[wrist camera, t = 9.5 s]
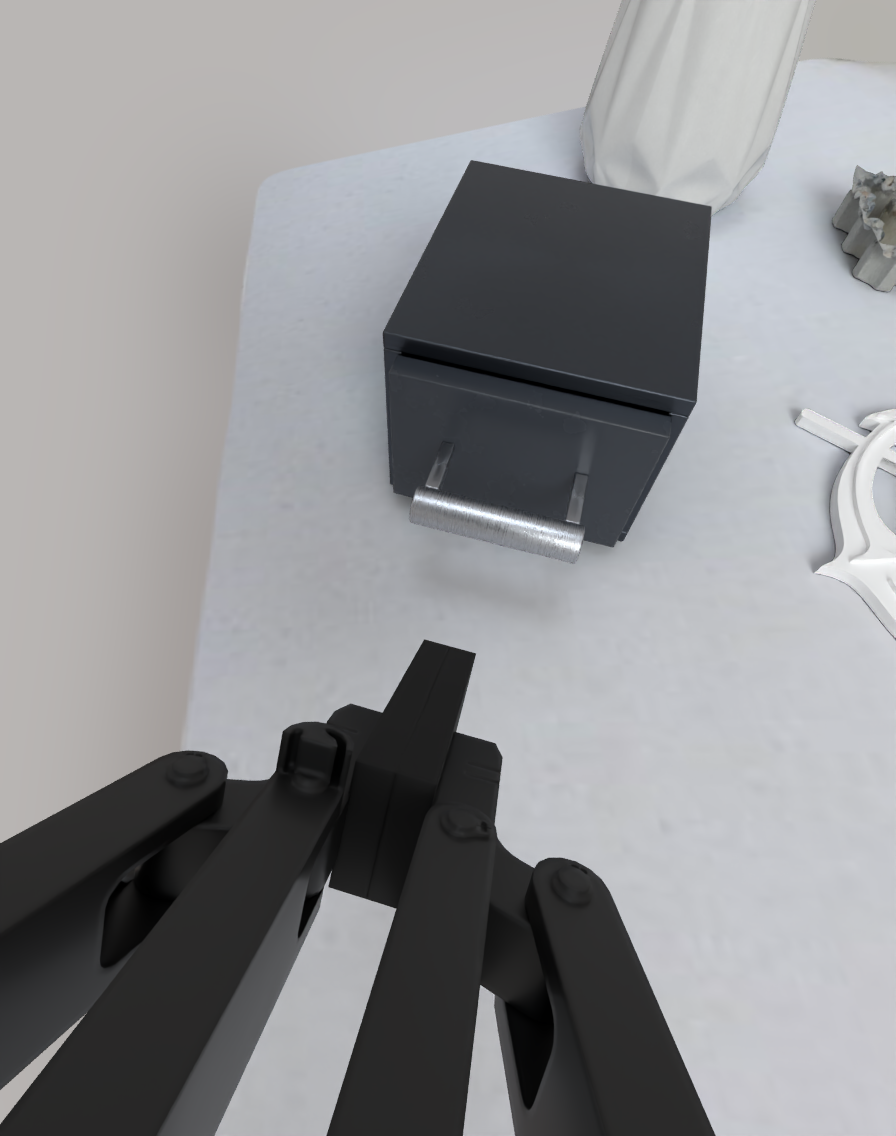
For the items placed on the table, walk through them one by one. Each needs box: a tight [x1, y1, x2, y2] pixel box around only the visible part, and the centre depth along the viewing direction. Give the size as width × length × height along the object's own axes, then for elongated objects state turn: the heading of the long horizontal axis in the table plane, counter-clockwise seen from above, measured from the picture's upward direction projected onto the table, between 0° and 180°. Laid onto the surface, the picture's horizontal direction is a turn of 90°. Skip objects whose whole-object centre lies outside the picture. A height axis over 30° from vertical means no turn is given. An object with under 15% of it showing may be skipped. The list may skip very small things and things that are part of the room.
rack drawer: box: [389, 355, 672, 564], centre depth 30 cm, size 18×11×8 cm, turn 165°
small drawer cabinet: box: [383, 160, 712, 541], centre depth 32 cm, size 15×13×10 cm
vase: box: [580, 0, 816, 217], centre depth 44 cm, size 14×14×15 cm
